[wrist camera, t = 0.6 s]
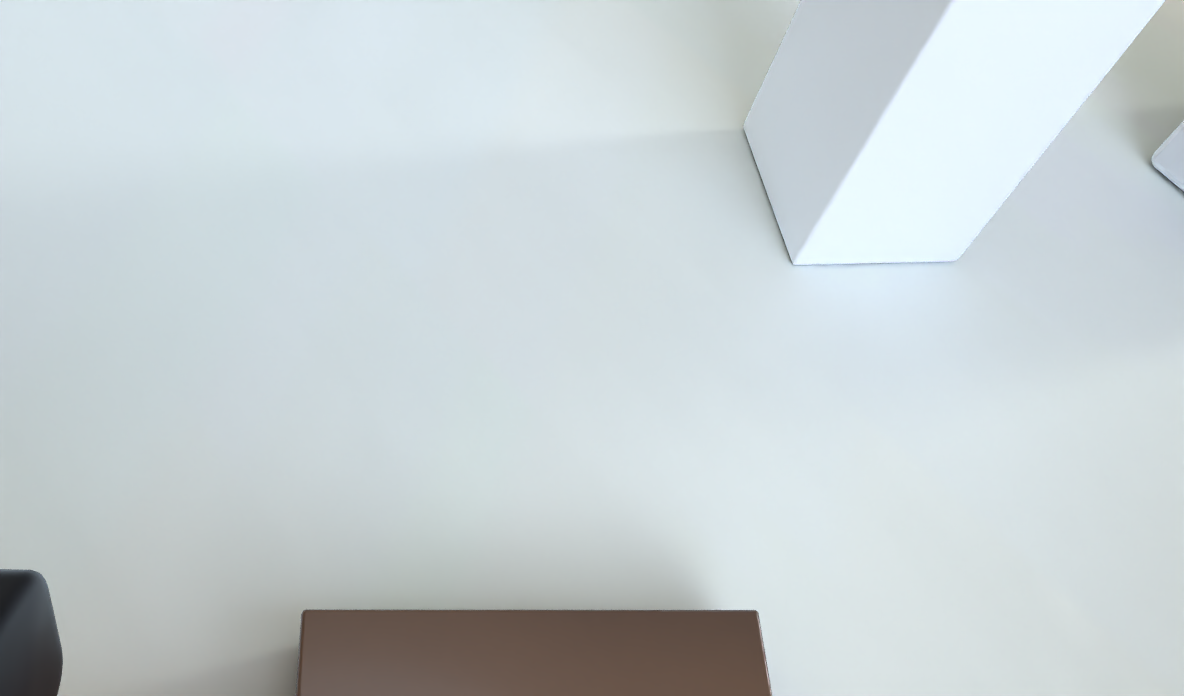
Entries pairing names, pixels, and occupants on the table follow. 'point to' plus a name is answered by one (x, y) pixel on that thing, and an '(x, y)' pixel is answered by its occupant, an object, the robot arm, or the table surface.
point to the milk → (920, 116)
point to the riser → (531, 653)
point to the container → (1172, 157)
